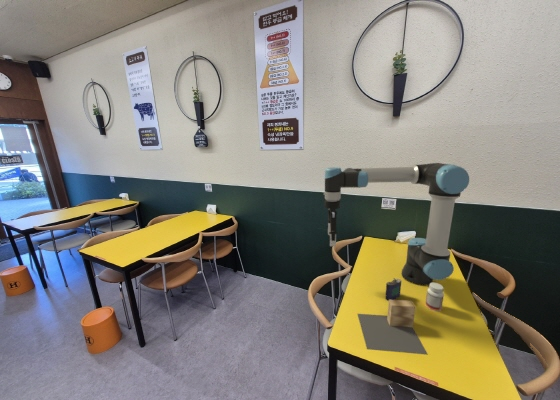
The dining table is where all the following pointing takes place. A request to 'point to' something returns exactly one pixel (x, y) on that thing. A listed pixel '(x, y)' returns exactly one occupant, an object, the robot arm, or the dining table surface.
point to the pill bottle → (434, 297)
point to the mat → (389, 335)
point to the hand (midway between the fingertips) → (331, 240)
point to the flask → (393, 289)
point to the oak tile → (401, 313)
